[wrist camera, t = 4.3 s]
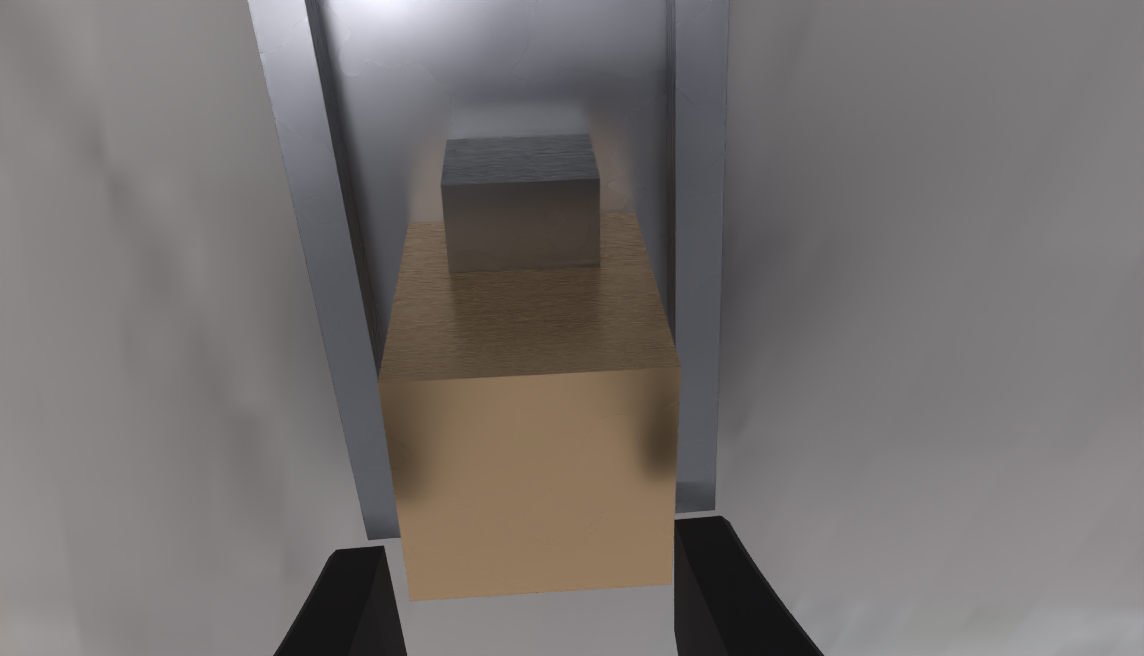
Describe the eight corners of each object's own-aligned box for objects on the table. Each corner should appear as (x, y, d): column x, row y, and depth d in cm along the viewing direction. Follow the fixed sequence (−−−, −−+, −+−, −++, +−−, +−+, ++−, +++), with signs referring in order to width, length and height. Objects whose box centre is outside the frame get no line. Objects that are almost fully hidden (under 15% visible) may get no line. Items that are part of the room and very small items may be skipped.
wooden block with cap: (635, 131, 16) (685, 266, 12) (632, 398, 19) (671, 584, 15) (398, 141, 16) (361, 282, 12) (430, 409, 19) (411, 601, 15)
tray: (715, -944, 11) (759, -1091, 9) (695, 442, 21) (715, 509, 19) (96, -916, 11) (12, -1058, 9) (380, 469, 21) (367, 540, 19)
